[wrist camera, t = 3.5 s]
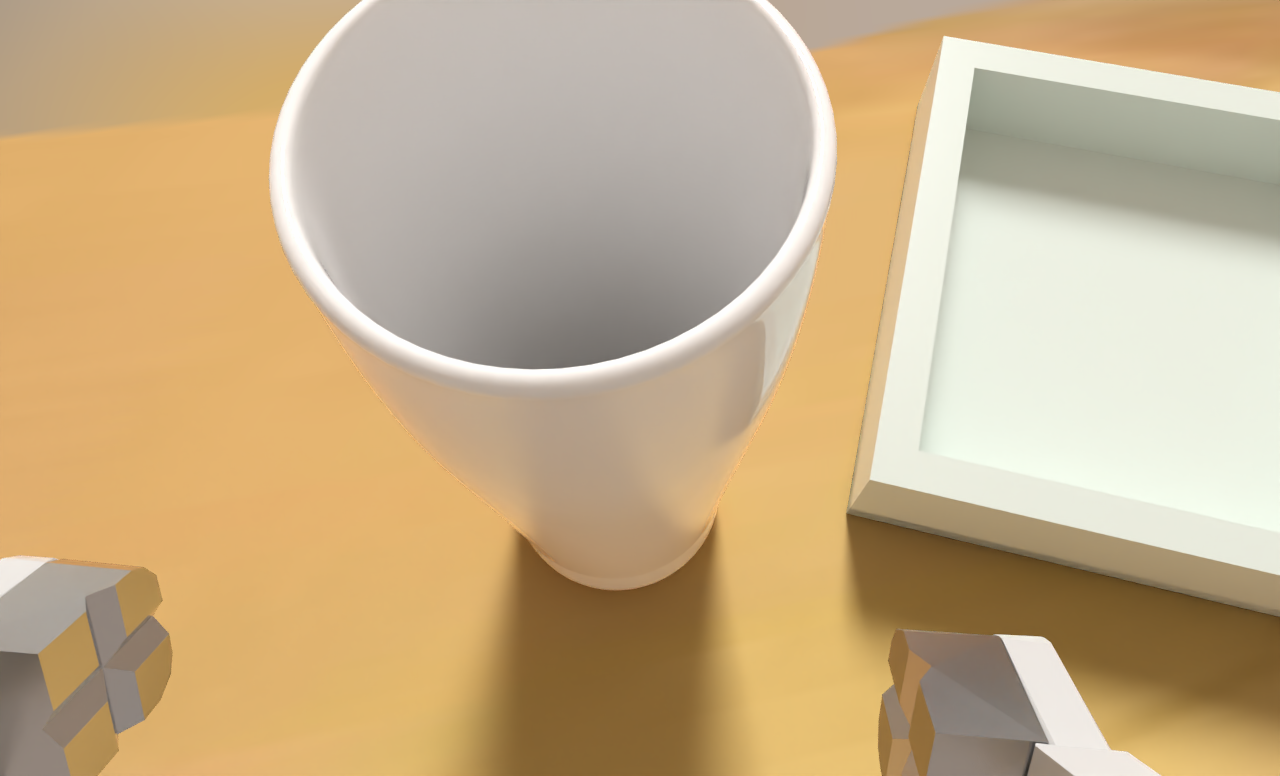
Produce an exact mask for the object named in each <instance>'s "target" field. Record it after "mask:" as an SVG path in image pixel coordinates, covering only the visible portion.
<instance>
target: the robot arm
mask: <svg viewBox="0 0 1280 776" xmlns="http://www.w3.org/2000/svg"><path fill="white" fill-rule="evenodd" d="M162 601H163V600H162V596H161V592H160V588H159V584H158V580H157V576H156V575H155V574H154V573H152V572H151V571H149V570H148V569H146V568H144V567H136V566H127V565H117V564H107V563H98V562H88V561H78V560H68V559H55V558H46V557H34V556H21V555H20V556H14V557H8V558H3V559H1V560H0V776H98V775H99V773H100V772H101V771H102V770H103V769H104V768H105V766H106V765H107V764H108V763H109V762H110V760H111V759H112V758H113V757H114V756H115V755H116V753H117V752H118V751H119V747H118V734H119V733H121V732H123V731H124V730H126V729H128V728H130V727H132V726H134V725H136V724H138V723H140V722H141V721H143V720H145V719H146V718H147V716H148V715H149V714H150V713H151V711H152V710H153V709H154V708H155V706H156V705H157V704H158V703H159V701H160V700H161V698H162V695H163V693H164V690H165V688H166V685H167V683H168V680H169V677H170V675H171V666H172V647H171V641H170V636H169V633H168V632H167V631H166V630H165V629H164V628H163V627H162V626H161V625H160V623H159V622H158V621H157V620H156V619H155V618H154V617H153V615H154V613H155V611H156V610H157V608H158V607H159V605H160V604H161V602H162ZM888 662H889V666H890V670H891V673H892V677H893V681H894V685H893V686H891V687H890V688H889V689H888V690H887V691H886V692H885V693H884V694H882V700H881V707H880V714H879V727H878V751H879V761H880V769H881V774H882V776H1161V775H1159V774H1158V773H1157V772H1155V771H1154V770H1152V769H1151V768H1149V767H1148V766H1147V765H1145V764H1144V763H1142V762H1141V761H1139V760H1138V759H1137V758H1135V757H1134V756H1132V755H1131V754H1130V753H1128V752H1125V751H1115V750H1111V749H1110V747H1109V745H1108V744H1107V742H1106V740H1105V738H1104V736H1103V735H1102V733H1101V731H1100V729H1099V727H1098V726H1097V724H1096V722H1095V720H1094V719H1093V717H1092V715H1091V713H1090V711H1089V710H1088V708H1087V706H1086V704H1085V702H1084V701H1083V699H1082V697H1081V695H1080V693H1079V692H1078V690H1077V688H1076V686H1075V685H1074V683H1073V681H1072V679H1071V677H1070V676H1069V674H1068V672H1067V670H1066V668H1065V667H1064V665H1063V663H1062V661H1061V659H1060V658H1059V656H1058V654H1057V652H1056V651H1055V649H1054V647H1053V645H1052V643H1051V642H1050V641H1048V640H1047V639H1045V638H1044V637H1040V636H1020V635H1000V634H994V635H979V634H964V633H950V632H936V631H922V630H908V629H896V631H895V634H894V636H893V639H892V643H891V648H890V653H889V659H888Z"/></svg>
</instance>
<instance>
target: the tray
mask: <svg viewBox="0 0 1280 776" xmlns="http://www.w3.org/2000/svg"><path fill="white" fill-rule="evenodd" d="M847 514H851V515H855V516H859V517H864V518H868V519H872V520H876V521H880V522H885V523H889V524H893V525H897V526H901V527H906V528H910V529H914V530H918V531H922V532H926V533H931V534H935V535H939V536H943V537H947V538H952V539H956V540H960V541H964V542H968V543H972V544H977V545H981V546H985V547H989V548H993V549H998V550H1002V551H1006V552H1010V553H1014V554H1019V555H1023V556H1027V557H1031V558H1035V559H1039V560H1044V561H1048V562H1052V563H1056V564H1060V565H1065V566H1069V567H1073V568H1077V569H1081V570H1085V571H1090V572H1094V573H1098V574H1102V575H1106V576H1111V577H1115V578H1119V579H1123V580H1127V581H1132V582H1136V583H1140V584H1144V585H1148V586H1152V587H1157V588H1161V589H1165V590H1169V591H1173V592H1178V593H1182V594H1186V595H1190V596H1194V597H1198V598H1203V599H1207V600H1211V601H1215V602H1219V603H1224V604H1228V605H1232V606H1236V607H1240V608H1244V609H1249V610H1253V611H1257V612H1261V613H1265V614H1270V615H1274V616H1278V617H1280V92H1274V91H1268V90H1262V89H1256V88H1250V87H1244V86H1238V85H1232V84H1226V83H1220V82H1214V81H1209V80H1203V79H1197V78H1191V77H1185V76H1179V75H1173V74H1167V73H1161V72H1155V71H1149V70H1143V69H1137V68H1131V67H1125V66H1119V65H1113V64H1107V63H1101V62H1095V61H1090V60H1084V59H1078V58H1072V57H1066V56H1060V55H1054V54H1048V53H1042V52H1036V51H1030V50H1024V49H1018V48H1012V47H1006V46H1000V45H994V44H988V43H982V42H976V41H971V40H965V39H959V38H953V37H947V36H944V37H943V40H942V42H941V45H940V48H939V50H938V53H937V56H936V58H935V61H934V64H933V66H932V69H931V72H930V74H929V77H928V80H927V82H926V85H925V88H924V90H923V93H922V96H921V98H920V101H919V104H918V107H917V112H916V118H915V124H914V130H913V135H912V141H911V147H910V152H909V158H908V164H907V170H906V175H905V181H904V187H903V192H902V198H901V204H900V210H899V215H898V221H897V227H896V232H895V238H894V244H893V250H892V255H891V261H890V267H889V273H888V278H887V284H886V290H885V295H884V301H883V307H882V313H881V318H880V324H879V330H878V335H877V341H876V347H875V353H874V358H873V364H872V370H871V375H870V381H869V387H868V393H867V398H866V404H865V410H864V416H863V421H862V427H861V433H860V438H859V444H858V450H857V456H856V461H855V467H854V473H853V478H852V484H851V490H850V496H849V501H848V507H847Z"/></svg>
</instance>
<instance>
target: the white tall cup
mask: <svg viewBox="0 0 1280 776" xmlns="http://www.w3.org/2000/svg"><path fill="white" fill-rule="evenodd" d="M836 165H837V136H836V129H835V122H834V114H833V110H832V106H831V102H830V98H829V95H828V91H827V88H826V86H825V83H824V81H823V78H822V76H821V73H820V70H819V68H818V66H817V65H816V63H815V61H814V59H813V57H812V55H811V53H810V51H809V50H808V48H807V47H806V45H805V44H804V42H803V41H802V39H801V38H800V37H799V35H798V33H797V32H796V31H795V30H794V28H793V27H792V26H791V25H790V23H789V22H788V21H787V20H786V19H785V18H784V16H783V15H782V14H781V13H780V12H779V11H778V10H777V9H776V8H775V7H774V6H773V5H771V3H770V2H768V1H767V0H362V1H361V2H360V3H358V4H357V5H356V6H355V7H354V8H353V9H351V10H350V11H349V12H348V13H347V14H346V15H345V16H343V18H341V20H339V21H338V22H337V24H336V25H335V26H334V27H333V28H332V29H331V30H330V31H329V32H328V33H327V34H326V35H325V36H324V38H323V39H322V40H321V41H320V43H319V44H318V45H317V47H315V49H314V50H313V51H312V53H311V54H310V56H309V57H308V59H307V60H306V62H305V63H304V65H303V66H302V68H301V69H300V71H299V73H298V75H297V76H296V78H295V80H294V82H293V84H292V86H291V87H290V90H289V92H288V94H287V96H286V99H285V102H284V104H283V106H282V109H281V111H280V114H279V118H278V121H277V125H276V128H275V131H274V136H273V142H272V148H271V153H270V167H269V189H270V203H271V208H272V213H273V219H274V224H275V228H276V231H277V234H278V237H279V240H280V243H281V246H282V249H283V252H284V254H285V256H286V258H287V260H288V262H289V265H290V267H291V269H292V271H293V273H294V275H295V276H296V278H297V280H298V281H299V283H300V284H301V286H302V287H303V289H304V291H305V292H306V294H307V295H308V297H309V298H310V299H311V300H312V302H313V303H314V305H315V306H316V308H317V310H318V311H319V313H320V314H321V316H322V318H323V319H324V321H325V322H326V324H327V325H328V327H329V329H330V330H331V332H332V333H333V335H334V336H335V338H336V340H337V341H338V343H339V344H340V346H341V347H342V349H343V350H344V352H345V353H346V355H347V356H348V358H349V359H350V361H351V362H352V364H353V365H354V367H355V368H356V369H357V371H358V372H359V374H360V375H361V376H362V378H363V379H364V380H365V382H366V383H367V384H368V386H369V387H370V388H371V390H372V391H373V392H374V393H375V395H376V396H377V397H378V398H379V400H380V401H381V402H382V403H383V405H384V406H385V407H386V408H387V410H388V411H389V412H390V413H391V414H392V416H393V417H394V418H395V419H396V420H397V422H398V423H399V424H400V425H401V426H402V427H403V429H404V430H405V431H406V432H407V433H408V434H409V435H410V436H411V437H412V438H413V439H414V440H415V441H416V442H417V443H418V444H419V445H420V446H421V447H422V448H423V449H424V450H425V451H426V452H427V453H428V454H429V455H430V456H431V457H432V458H433V459H434V460H435V461H436V462H437V463H438V464H439V465H440V466H441V467H442V468H443V469H444V470H446V471H447V472H448V473H449V474H450V475H451V476H452V477H454V478H455V479H456V480H457V481H458V482H459V483H461V484H462V485H463V486H464V487H465V488H467V489H468V490H469V491H470V492H471V493H473V494H474V495H475V496H476V497H477V498H479V499H480V500H481V501H482V502H483V503H485V504H486V505H487V506H488V507H490V508H491V509H492V510H493V511H494V512H495V513H497V514H498V515H499V516H500V517H501V518H503V519H504V520H505V521H506V522H507V523H508V524H510V525H511V526H512V527H513V528H514V529H515V530H517V531H518V532H519V533H520V534H521V535H522V536H523V537H525V538H526V539H527V540H528V541H529V542H530V544H531V545H532V547H533V548H534V550H535V551H536V552H537V553H538V555H539V556H540V557H541V558H542V559H543V560H544V561H545V562H546V563H547V564H548V565H549V566H551V567H552V568H553V569H554V570H556V571H557V572H558V573H560V574H561V575H563V576H565V577H566V578H568V579H570V580H572V581H574V582H577V583H579V584H582V585H585V586H589V587H592V588H597V589H603V590H629V589H636V588H640V587H644V586H647V585H650V584H653V583H656V582H658V581H660V580H662V579H664V578H666V577H668V576H670V575H671V574H673V573H674V572H676V571H677V570H679V569H680V568H681V567H683V566H684V565H685V564H686V563H687V562H688V561H689V560H690V559H691V558H692V557H693V556H694V555H695V554H696V553H697V551H698V550H699V549H700V547H701V546H702V544H703V543H704V541H705V540H706V538H707V536H708V534H709V532H710V530H711V528H712V526H713V523H714V520H715V517H716V513H717V509H718V505H719V502H720V500H721V498H722V497H723V495H724V493H725V491H726V489H727V487H728V485H729V483H730V481H731V479H732V477H733V475H734V474H735V472H736V470H737V468H738V466H739V464H740V462H741V461H742V459H743V457H744V455H745V453H746V451H747V450H748V448H749V446H750V444H751V442H752V440H753V439H754V437H755V435H756V433H757V431H758V429H759V427H760V426H761V424H762V422H763V420H764V418H765V416H766V414H767V412H768V410H769V408H770V406H771V404H772V402H773V400H774V397H775V395H776V393H777V391H778V389H779V387H780V384H781V382H782V380H783V378H784V375H785V373H786V370H787V368H788V365H789V362H790V360H791V357H792V354H793V351H794V348H795V345H796V343H797V340H798V337H799V334H800V331H801V328H802V324H803V321H804V318H805V314H806V311H807V307H808V304H809V300H810V296H811V292H812V288H813V284H814V279H815V275H816V271H817V266H818V262H819V257H820V253H821V248H822V243H823V238H824V233H825V228H826V222H827V217H828V211H829V207H830V202H831V198H832V193H833V189H834V184H835V175H836Z"/></svg>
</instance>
